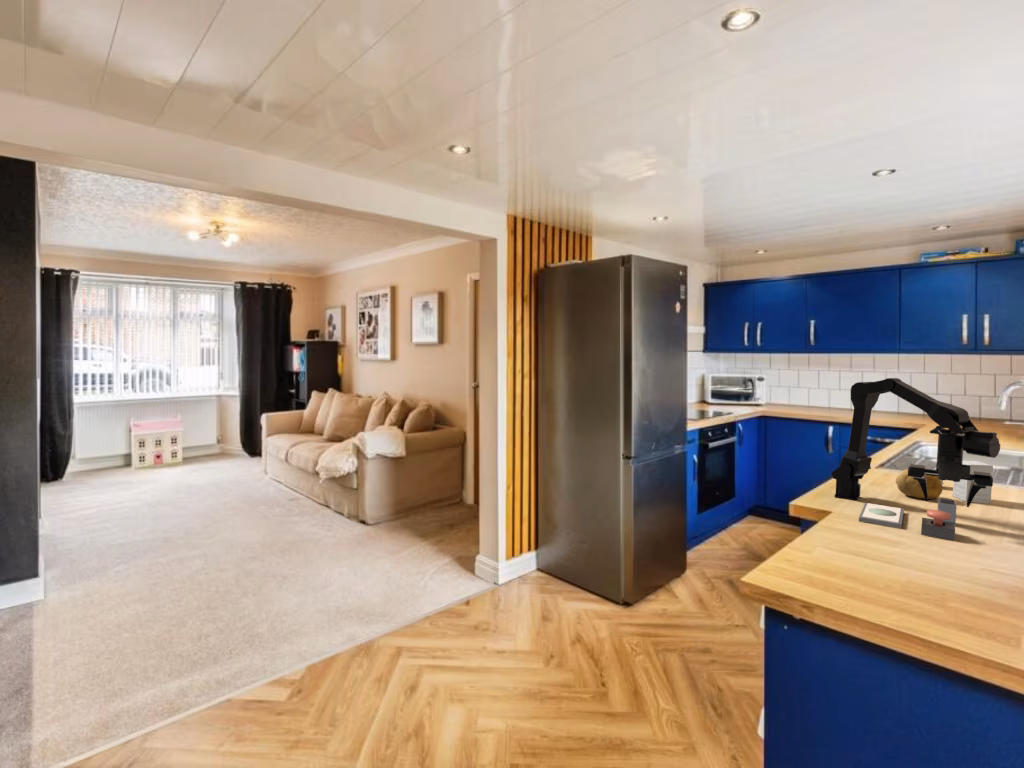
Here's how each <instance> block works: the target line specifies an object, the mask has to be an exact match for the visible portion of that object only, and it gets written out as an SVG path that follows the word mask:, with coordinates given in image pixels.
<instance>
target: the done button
mask: <svg viewBox="0 0 1024 768" xmlns="http://www.w3.org/2000/svg"><path fill="white" fill-rule="evenodd" d="M926 516H927V518H928V517H929V518H930V519H934V521H933V524H936V525H942V526H943V520H950V516H951V514H950V513H948V512H944V511H940V510H938V509H927V510H926Z"/></svg>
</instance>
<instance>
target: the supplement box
mask: <svg viewBox="0 0 1024 768" xmlns="http://www.w3.org/2000/svg"><path fill="white" fill-rule="evenodd" d="M962 464H963V465H970V474H973V471H976V472H985V473H990V474H991V475H992V476H993V470H994V469H993V468H994V465H992V464H988V463H985V462H982V461H979V460H963V462H962ZM952 482H953V483H952V496H953V498H954V497H955V498H956V499H958V500H961V501H964V502H965V503H967V498H968V494H969V489H970V485H971V481H970V480H962V479H961V480H960V482H954V481H952ZM992 487H993V486H986V488H985V489H984V488H981V489H980V490H979V491H978V492H977V493H976V495H975V496H974V498H973V500H972V502H971V503H977V504H978V503H979V504H981V503H982V504H991V502H992Z"/></svg>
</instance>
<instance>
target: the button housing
mask: <svg viewBox="0 0 1024 768" xmlns="http://www.w3.org/2000/svg"><path fill="white" fill-rule="evenodd" d="M933 521H934V518H930V517H929V518H928V517H921V528H920V529H921V530H920V535H921V536H925V537H931V538H932V537H933V538H939V539H944V540H949V541H955V538H956V523H955V524H954V522H947V521H943V526H942V525H936V524H933Z"/></svg>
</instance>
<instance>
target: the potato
mask: <svg viewBox="0 0 1024 768" xmlns="http://www.w3.org/2000/svg"><path fill="white" fill-rule="evenodd" d="M925 476H926V483H927V493H928V499H933V500H936V499H938V498H940V496H941V494H942V492H943V485H942V484H941V481H940V479H938V477H937V476H929V475H925ZM895 484H896V486H897V488H898V490H899V491H900V493H902V494H903V495H906V496H907V497H910V498H918V499H924V500H925V497H924V494H923V491H922V488H921V486H920V484H919V482H918V480H914V479H913V477H911V476H908V468H906V469H904V470H902V472H900V473H899V474H898V475H897V476H896V477H895Z"/></svg>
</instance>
